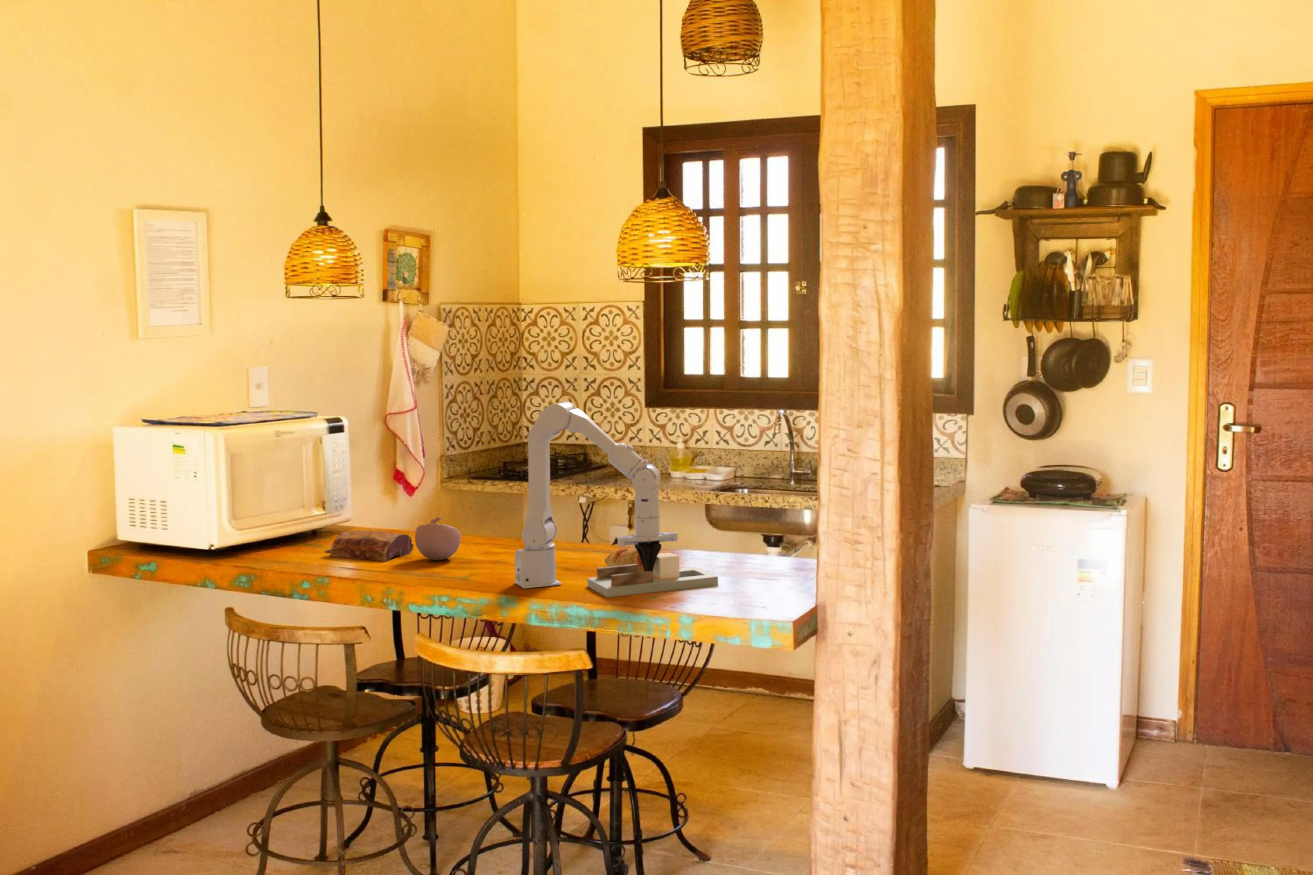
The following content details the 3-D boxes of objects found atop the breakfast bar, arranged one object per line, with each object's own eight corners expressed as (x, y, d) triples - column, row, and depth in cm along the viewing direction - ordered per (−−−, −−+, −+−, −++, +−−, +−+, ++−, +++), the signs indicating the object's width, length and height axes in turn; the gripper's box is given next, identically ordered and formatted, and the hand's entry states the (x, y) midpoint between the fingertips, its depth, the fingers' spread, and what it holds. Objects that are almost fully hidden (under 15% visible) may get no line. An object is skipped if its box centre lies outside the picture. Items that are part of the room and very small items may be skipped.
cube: (660, 578, 300) (659, 557, 299) (651, 575, 304) (650, 554, 304) (679, 576, 302) (679, 555, 301) (670, 572, 306) (669, 552, 306)
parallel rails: (613, 586, 292) (612, 575, 292) (597, 578, 302) (596, 567, 302) (653, 582, 296) (653, 571, 296) (636, 574, 306) (636, 563, 306)
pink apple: (466, 555, 345) (464, 513, 343) (455, 564, 333) (453, 520, 332) (422, 555, 346) (421, 513, 345) (410, 564, 334) (408, 521, 333)
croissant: (598, 581, 325) (587, 556, 321) (620, 557, 331) (609, 533, 328) (664, 589, 312) (654, 563, 308) (685, 564, 318) (675, 538, 315)
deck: (606, 597, 291) (606, 588, 290) (587, 586, 303) (587, 578, 302) (718, 584, 301) (717, 576, 301) (695, 574, 313) (695, 566, 313)
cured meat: (346, 545, 364) (345, 522, 363) (422, 550, 355) (421, 526, 354) (307, 559, 347) (306, 534, 347) (385, 564, 338) (384, 538, 337)
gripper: (624, 521, 293) (626, 579, 295) (682, 516, 299) (683, 573, 300) (613, 517, 300) (615, 574, 301) (670, 512, 306) (671, 568, 307)
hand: (648, 573), depth 301 cm, fingers closed
